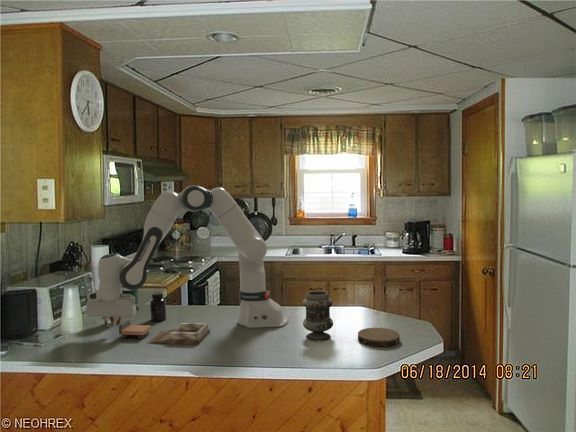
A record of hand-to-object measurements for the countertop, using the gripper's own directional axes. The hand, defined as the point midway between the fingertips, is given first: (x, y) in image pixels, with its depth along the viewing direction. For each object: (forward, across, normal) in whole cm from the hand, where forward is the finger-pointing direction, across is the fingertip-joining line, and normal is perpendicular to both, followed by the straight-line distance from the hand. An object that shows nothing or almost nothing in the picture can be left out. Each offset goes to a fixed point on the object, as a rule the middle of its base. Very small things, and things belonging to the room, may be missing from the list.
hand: (112, 326), depth 199 cm
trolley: (+4, -10, 0) cm, 11 cm away
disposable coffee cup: (+4, +8, -16) cm, 18 cm away
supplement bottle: (+4, -10, -24) cm, 26 cm away
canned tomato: (+4, +10, -38) cm, 39 cm away
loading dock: (+5, -28, 0) cm, 29 cm away
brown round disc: (+4, -108, -3) cm, 108 cm away
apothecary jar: (+4, -84, -5) cm, 84 cm away
